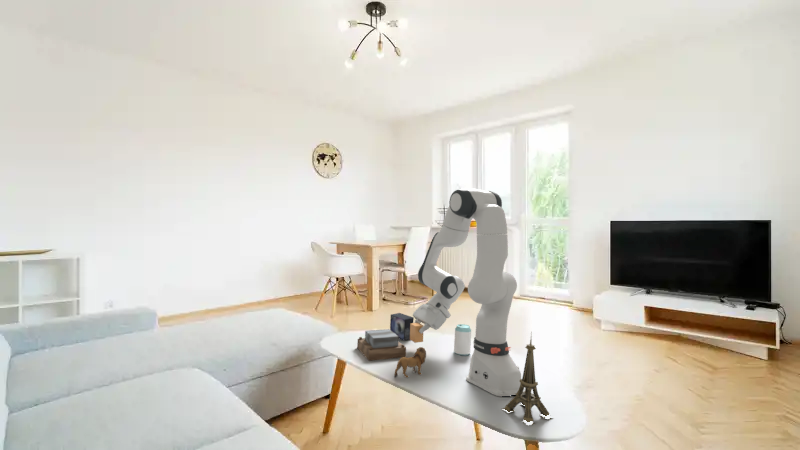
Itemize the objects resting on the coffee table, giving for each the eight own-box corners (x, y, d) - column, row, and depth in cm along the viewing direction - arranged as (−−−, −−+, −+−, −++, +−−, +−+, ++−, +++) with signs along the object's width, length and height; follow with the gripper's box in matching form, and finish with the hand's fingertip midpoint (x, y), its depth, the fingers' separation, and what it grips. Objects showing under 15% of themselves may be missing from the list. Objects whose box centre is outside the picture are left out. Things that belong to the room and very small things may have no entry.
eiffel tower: (553, 418, 114) (558, 334, 113) (528, 426, 108) (533, 338, 108) (525, 403, 123) (529, 325, 123) (501, 409, 117) (505, 328, 117)
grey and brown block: (405, 357, 159) (406, 337, 159) (368, 360, 153) (369, 340, 153) (391, 344, 174) (392, 327, 174) (357, 347, 167) (358, 329, 167)
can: (454, 355, 164) (455, 327, 164) (453, 349, 171) (455, 323, 171) (470, 356, 163) (472, 328, 163) (469, 351, 170) (471, 324, 170)
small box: (388, 335, 188) (389, 314, 188) (398, 333, 192) (399, 312, 192) (403, 341, 180) (404, 318, 180) (413, 338, 185) (414, 317, 185)
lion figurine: (418, 367, 148) (420, 344, 148) (428, 372, 144) (430, 348, 144) (389, 376, 138) (391, 351, 138) (399, 381, 134) (401, 356, 134)
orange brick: (423, 341, 165) (423, 325, 165) (414, 342, 164) (415, 326, 164) (418, 338, 170) (418, 322, 170) (409, 339, 168) (410, 323, 168)
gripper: (422, 297, 179) (402, 320, 175) (444, 306, 161) (422, 331, 157) (430, 306, 181) (410, 329, 177) (452, 316, 162) (431, 341, 158)
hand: (416, 330), depth 167 cm, fingers closed on orange brick, 5 cm apart
